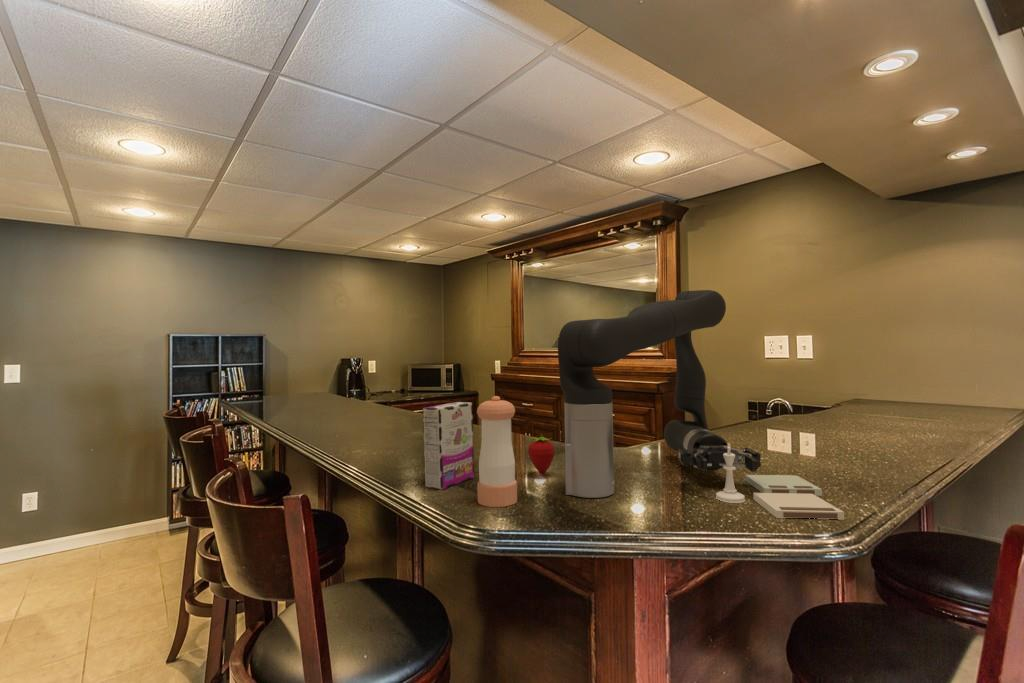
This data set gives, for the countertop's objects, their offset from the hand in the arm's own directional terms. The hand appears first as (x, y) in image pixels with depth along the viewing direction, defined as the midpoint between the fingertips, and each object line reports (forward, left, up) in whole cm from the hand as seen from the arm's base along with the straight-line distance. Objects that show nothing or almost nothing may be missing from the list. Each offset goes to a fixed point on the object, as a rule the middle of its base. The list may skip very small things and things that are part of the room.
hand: (729, 465), depth 88 cm
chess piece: (0, 0, -6) cm, 6 cm away
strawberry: (-35, +15, -6) cm, 39 cm away
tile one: (+9, -5, -6) cm, 12 cm away
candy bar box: (-54, +8, -6) cm, 55 cm away
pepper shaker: (-42, -4, -6) cm, 43 cm away
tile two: (+12, +8, -6) cm, 16 cm away
